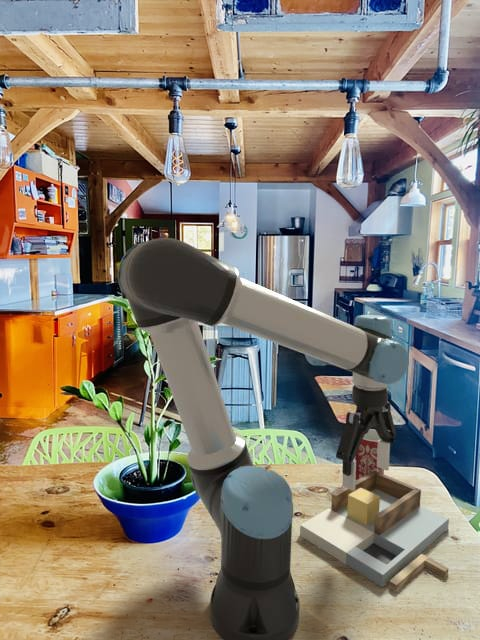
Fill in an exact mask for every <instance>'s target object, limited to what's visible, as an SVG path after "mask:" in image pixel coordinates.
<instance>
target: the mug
mask: <svg viewBox="0 0 480 640" xmlns="http://www.w3.org/2000/svg"><path fill="white" fill-rule="evenodd" d="M378 440H382V439H380V437H379V435H378V433H377V432H376V430H375V428H373V429H372V428H371V429H369V431H368V433H367V434H365V435H364V437H363V440H362V442H361V444H360V446H359V449H358V451H357V453H356V455H355V458H354V460H356V479H355V481H356V480H358V479H360V478H362V477H364V476H366V475H367V474H369V473H371V472H373V471H377V472H379V473H381V474H384V475H385V473H384V472H385V470H384V469H381V468H379V467H377V448H378Z"/></svg>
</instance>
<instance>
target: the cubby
mask: <svg viewBox="0 0 480 640" xmlns="http://www.w3.org/2000/svg"><path fill="white" fill-rule="evenodd" d="M359 488H363V489H365V490H367V491H369V492H370V491H372V490H374V489H377V490H380V491H382V492H384V493H386V494H389V495H391V496H393V497H395V498H398V499H399V500H397V501H396V502H394V503H393V504H391V505H390V506H388V507H387V508H385V509H384V510H382V511H381V512H379V513H378V514H376V515H375V526H374V533H375V534H377V535H381V534H382V533H383V532H385V531H386V530H387V529H389V528H390V527H391V526H393V525H394V524H396V523H397V522H398V521H400V520H401V519H402V518H404V517H405V516H406V515H408V514H409V513H411V512H412V511H413V510H415V509H416V508H417V507H419V506H421V497H422V496H421V495H422V489H420V488H418V487H415V486H413V485H410V484H408V483H405V482H404V481H401V480H398V479H395V478H393V477H391V476H388V475H386V474H385V473H384V474H381V473H379V472H377V471H373V472H371V473H369V474H367V475H366V476H364V477H362V478H360V479H358V480H355V490H354V491H356V490H358V489H359ZM354 491H352V490H350V489H348V488H346V487H344V486H343V487H342V488H339V490H337V491H334V492H332V493H331V506H330V507H331V510H332V511H334V512H337V511H338V510H340V509H342V508H343V507H345V506H347V505H348V495H349V494H351V493H352V492H354Z"/></svg>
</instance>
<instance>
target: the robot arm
mask: <svg viewBox="0 0 480 640" xmlns="http://www.w3.org/2000/svg"><path fill="white" fill-rule="evenodd" d="M117 272H118V273H117V281H118V285H119V289H120V291H121V292H122V294H123V295H124V297H125V298H126V299H127V300H128V303H129V306H130V309H131V311H132V314H133V316H134V320H135V322H136V325H137V327H138V330H141V331H143V332H146V333H148V334H149V335H150V338H151V341H152V344H153V346H154V349H155V352H156V354H157V358H158V360H159V362H160V365H161V368H162V371H163V374H164V376H165V380H166V382H167V385H168V388H169V391H170V393H171V396H172V398H173V401H174V404H175V408H176V409H177V413H178V415H179V418H180V422H181V424H182V427H183V430H184V432H185V435H186V437H187V441H188V444H189V445H190V449H189V451H188V453H187V456H186V461H187V464H188V468H189V470H190V479H191V485H192V486H193V489H194V491H195V493H196V495H197V496H198V498H199V499H200V500H201V501H202V502H201V503H202V504H203V506H204V507H205V508H206V510H207V512H208V513H209V515H210V517H211V519H212V520H213V521H214V522H213V523H214V524H215V525H216V527H217V529H218V531H219V533H220V543H221V544H220V550H221V551H220V552H221V553H220V569H219V572H218V574H217V578H216V581H215V585H214V586H213V589H212V591H211V594H210V598H209V599H210V600H209V601H210V603H209V617H210V621H211V624H212V626H213V628H214V630H215V632H216V633H217V634H218V635H219V636H220V637H221V638H222V639H223V640H289V639H291V637H292V636H293V635H294V634H295V633H296V631H297V629H298V625H299V621H300V605H301V604H300V599H299V598H300V597H299V595H298V593H297V590H296V586H295V583H294V579H293V575H292V573H291V563H292V562H291V557H292V533H293V532H292V531H293V517H294V502H293V494H292V488H291V487H290V484H289V483H288V482H287V480H286V479H285V477H283V476H282V475H281V474H279V473H278V472H276V471H274V470H272V469H269V470H267V468H266V467H263V466H257V465H254V463H253V461H252V458H251V455H250V451H249V448H248V445H247V443H246V440H245V437H244V436H243V435H241V434H240V433H238V432H235V431H234V428H233V425H232V422H231V420H230V416H229V414H228V410H227V407H226V404H225V402H224V398H223V394H222V392H221V389H220V387H219V384H218V380H217V377H216V374H215V371H214V367H213V364H212V362H211V358H210V356H209V352H208V350H207V346H206V343H205V340H204V337H203V334H202V331H201V329H200V326H199V323H201V324H203V325H206V326H210V327H215V326H218V325H220V324H223V325H225V326H229V327H232V328H233V329H236V330H239V331H241V332H245V333H247V334H250V335H253V336H255V337H258V338H261V339H264V340H266V341H269V342H272V343H274V344H277V345H279V346H282V347H285V348H288V349H290V350H293V351H296V352H299V353H302V354H304V356H305V359H306V360H307V362H308V363H309V364H311V365H312V366H323V367H325V366H328V365H331V366H335V367H338V368H340V369H342V370H343V369H344V370H346V371H348V372H351V373H352V381H351V382H352V384H353V385H352V391H351V392H352V393H351V401H352V403H353V404H354V405H355V406H356V408H355V412H350V411H348V412H347V413H346V416H345V418H346V419H345V423H344V427H343V432H342V435H341V437H340V440H339V444H338V447H337V450H336V453H335V458H337V459H339V460H342V468H341V469H342V484H341V485H342V486H341V487H343V488H344V487H346V488H348V489H350V490H352V491H354V490H355V481H356V480H355V479H356V460H355V455H356V453H357V451H358V449H359V446H360V444H361V442H362V440H363V437H364V435H365V434H367V433H368V431H369V429H372V428H373V429H374V430H376V432H377V433H378V435H379V437H380V439H382V440H378V448H377V467H379V468H381V469H384V471H386V472H387V471H389V470H390V451H391V443H392V444H394V443H395V442H396V437H397V432H396V428H395V424H394V419H393V415H392V411H391V402H389V389H388V387H389V385H392V384H397V383H398V382H399V381H401V380H402V379H403V378H404V377H405V375H406V374H407V371H408V368H409V366H410V355H409V352H408V350H407V348H406V347H405V346H404V345H403V344H402V343H400V342H398V341H393V340H392V323H391V319H390V317H389V318H388V317H387V316H384V315H378V314H377V315H376V314H361V315H357V316H356V317H355V318H354V323H353V325H352V324H350V323H348V322H344V321H343V320H340V319H337V318H335V317H333V316H331V315H329V314H326V313H325V312H322V311H319V310H317V309H315V308H312V307H310V306H308V305H305V304H303V303H301V302H299V301H297V300H293V299H291V298H289V297H287V296H285V295H283V294H280V293H278V292H275V291H273V290H271V289H268V288H266V287H264V286H261V285H260V284H257V283H254V282H252V281H249V280H248V279H245V278H243V277H241V276H240V274H239V270H238V269H237V268H236V267H235V266H233V265H230V264H228V263H226V262H224V261H221V260H220V259H218V258H216V257H214V256H211V254H208V253H206V252H205V251H202V250H201V249H199V248H197V247H195V246H193V245H191V244H188V242H184V241H182V240H178V239H176V238H174V237H173V238H172V237H159V238H154V239H151V240H148V241H147V240H146V241H142V242H139V243H137V244H135V245H133V246H132V247H131V248H130V249H128V250H127V251H126V252H125V254H124V255H123V256H122V257H121V260H120V263H119V265H118V270H117Z"/></svg>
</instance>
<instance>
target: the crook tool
mask: <svg viewBox="0 0 480 640" xmlns="http://www.w3.org/2000/svg"><path fill="white" fill-rule="evenodd" d="M424 568H426V569H427V570H430V571H432V572H433V573H435V574H437V575H439V576H440V577H442V578H444V579H445V578H447V576H449V567H447V566H445V565H444V564H441V563H440V562H438V561H436V560H434V559H432V558H430V557H429V556H427V555H425V554H423V553H420V554H419V555H418V556H417V557H416V558H415V559H414V560H412V561H411V562H410V563H409V564H408V565H407V566H406V567H405V568H403V569H402V570H401V571H400V572H399V573H398V574H397V575H396V576H394V577H393V578H392V579H391V580H390V581H389V582H388V583H389V584H388V588H389V589H391V590H393V591H394V592H396V593H397V592H398V591H399V590H400V589H401V588H402V587H404V586H405V585H406V584H407V583H408V582H409V581H411V579H413V578H414V577H415V576H416V575H417V574H418V573H419V572H420V571H421V570H423V569H424Z"/></svg>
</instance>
